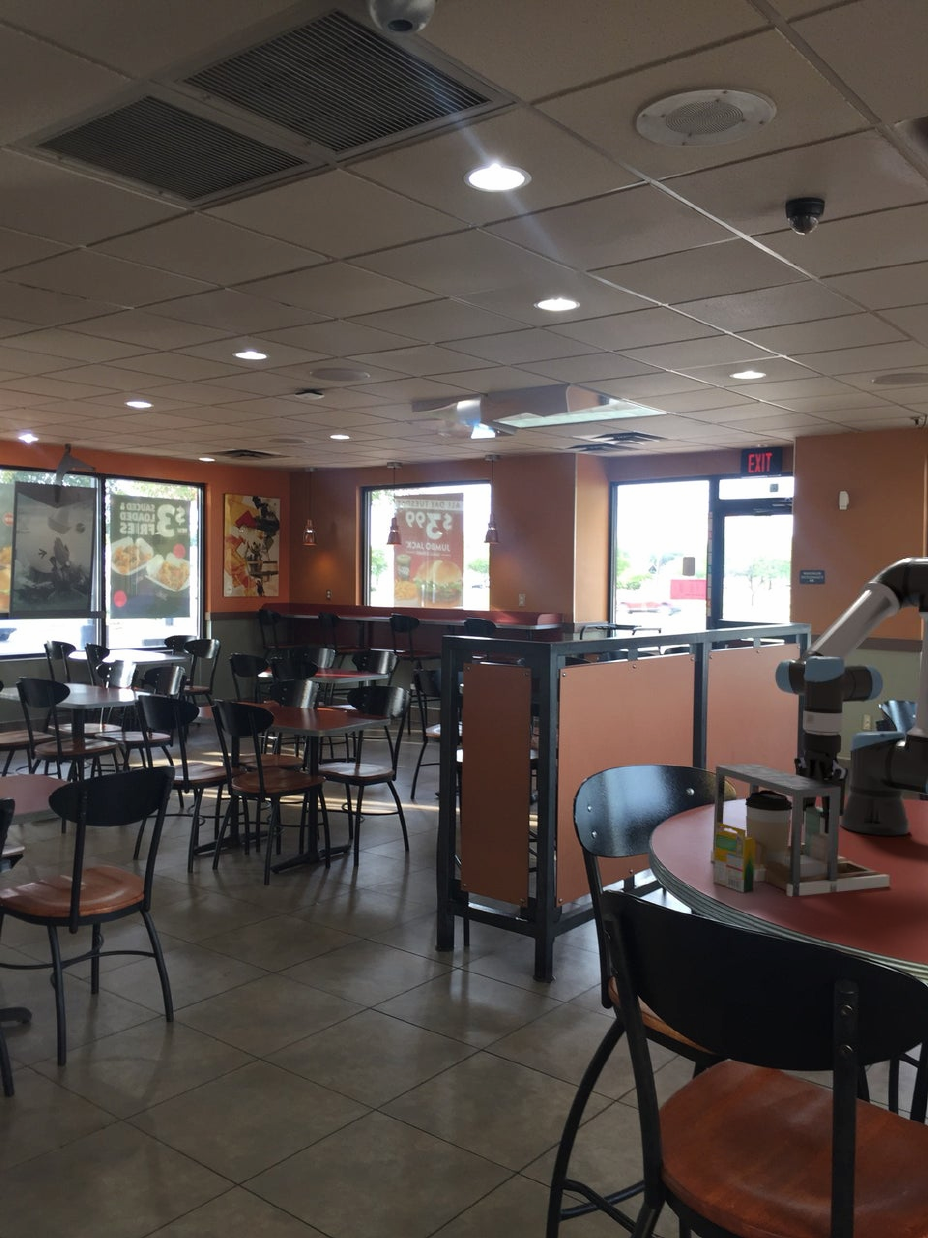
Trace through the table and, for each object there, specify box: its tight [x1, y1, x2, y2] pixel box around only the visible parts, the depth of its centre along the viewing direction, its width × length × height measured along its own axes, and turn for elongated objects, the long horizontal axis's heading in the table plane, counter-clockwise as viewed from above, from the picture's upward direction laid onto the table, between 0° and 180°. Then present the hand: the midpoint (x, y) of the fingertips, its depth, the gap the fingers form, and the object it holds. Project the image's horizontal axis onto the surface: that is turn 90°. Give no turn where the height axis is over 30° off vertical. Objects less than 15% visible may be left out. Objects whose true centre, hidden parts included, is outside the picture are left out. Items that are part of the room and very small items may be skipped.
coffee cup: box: [744, 789, 792, 864], centre depth 197 cm, size 9×9×15 cm
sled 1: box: [754, 806, 847, 870], centre depth 199 cm, size 20×12×11 cm, turn 111°
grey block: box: [783, 855, 823, 877], centre depth 186 cm, size 5×5×5 cm
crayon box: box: [713, 822, 755, 894], centre depth 184 cm, size 7×3×12 cm, turn 33°
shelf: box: [712, 763, 841, 897], centre depth 192 cm, size 10×24×20 cm, turn 21°
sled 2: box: [765, 833, 879, 892], centre depth 187 cm, size 20×8×9 cm, turn 111°
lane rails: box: [710, 850, 890, 897], centre depth 194 cm, size 23×24×2 cm
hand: (817, 845), depth 202 cm, fingers closed on sled 1, 4 cm apart
